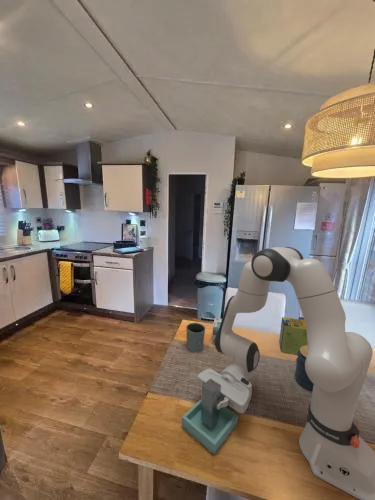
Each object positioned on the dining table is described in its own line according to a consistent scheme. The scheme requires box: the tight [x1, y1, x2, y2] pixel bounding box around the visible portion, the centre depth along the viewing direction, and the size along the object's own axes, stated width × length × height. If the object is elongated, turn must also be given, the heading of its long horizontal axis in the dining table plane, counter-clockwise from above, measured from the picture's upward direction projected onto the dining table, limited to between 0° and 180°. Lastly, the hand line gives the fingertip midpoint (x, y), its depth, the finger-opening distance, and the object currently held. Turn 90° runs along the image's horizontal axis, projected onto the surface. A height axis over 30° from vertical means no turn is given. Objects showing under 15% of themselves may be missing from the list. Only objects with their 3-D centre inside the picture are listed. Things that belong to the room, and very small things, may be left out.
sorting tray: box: [181, 397, 239, 456], centre depth 82 cm, size 14×14×4 cm
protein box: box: [278, 316, 307, 356], centre depth 126 cm, size 10×15×16 cm
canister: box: [294, 345, 314, 392], centre depth 103 cm, size 13×13×18 cm
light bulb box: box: [211, 317, 222, 345], centre depth 134 cm, size 11×7×11 cm, turn 168°
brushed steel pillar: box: [201, 379, 221, 428], centre depth 81 cm, size 5×5×14 cm
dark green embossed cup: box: [185, 322, 206, 353], centre depth 126 cm, size 10×10×12 cm
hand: (209, 402), depth 80 cm, fingers closed on brushed steel pillar, 4 cm apart
